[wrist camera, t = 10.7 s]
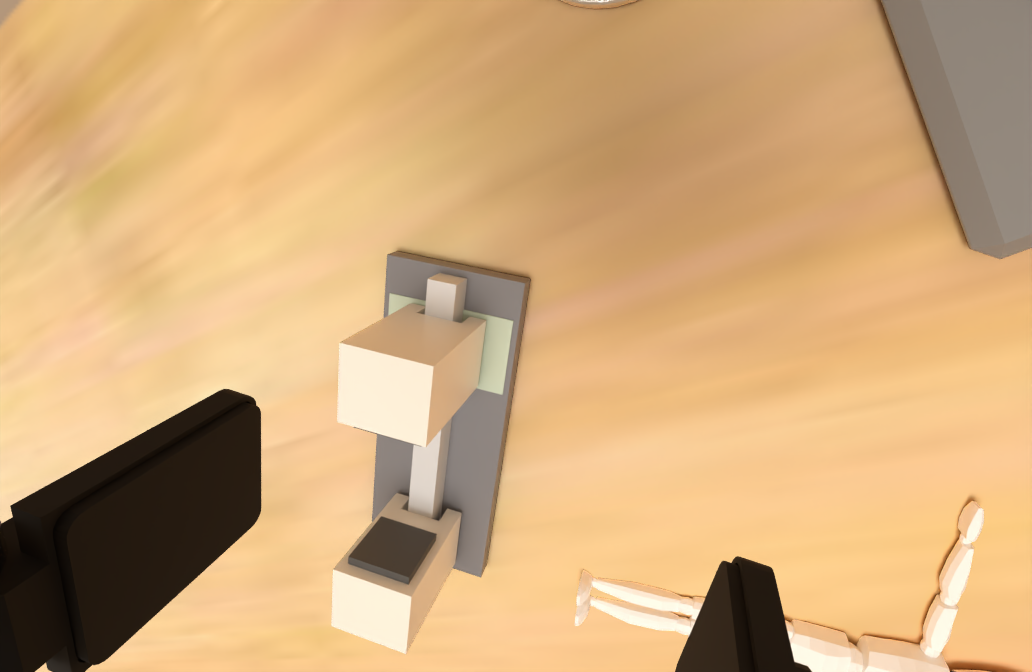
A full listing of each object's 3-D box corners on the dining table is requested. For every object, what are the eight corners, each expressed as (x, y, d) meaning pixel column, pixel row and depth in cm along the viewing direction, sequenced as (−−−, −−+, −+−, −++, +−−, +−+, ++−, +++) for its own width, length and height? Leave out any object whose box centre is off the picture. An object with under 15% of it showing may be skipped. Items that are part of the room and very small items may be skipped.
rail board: (397, 251, 39) (304, 282, 29) (530, 278, 37) (478, 322, 27) (379, 529, 48) (303, 626, 38) (486, 564, 45) (435, 676, 36)
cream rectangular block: (410, 303, 38) (339, 342, 30) (486, 320, 37) (433, 366, 28) (405, 375, 40) (337, 431, 32) (476, 393, 38) (424, 456, 30)
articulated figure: (586, 455, 37) (1147, 558, 28) (596, 430, 40) (1099, 515, 32) (566, 736, 46) (991, 879, 37) (575, 696, 49) (966, 819, 41)
